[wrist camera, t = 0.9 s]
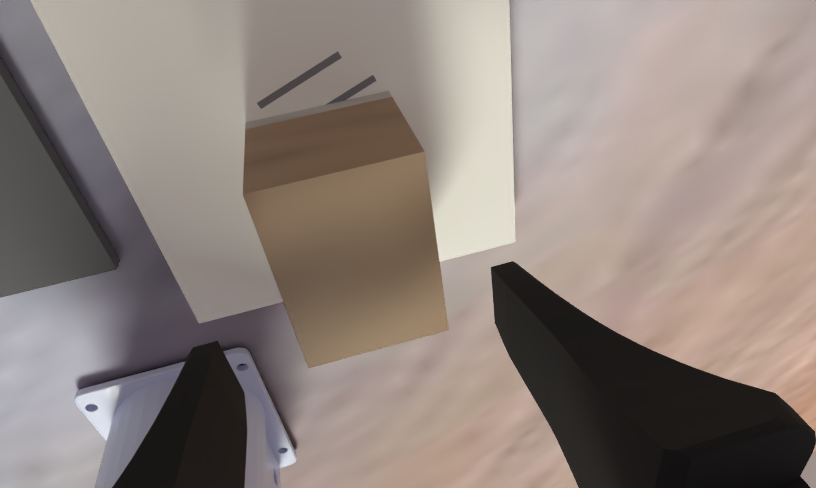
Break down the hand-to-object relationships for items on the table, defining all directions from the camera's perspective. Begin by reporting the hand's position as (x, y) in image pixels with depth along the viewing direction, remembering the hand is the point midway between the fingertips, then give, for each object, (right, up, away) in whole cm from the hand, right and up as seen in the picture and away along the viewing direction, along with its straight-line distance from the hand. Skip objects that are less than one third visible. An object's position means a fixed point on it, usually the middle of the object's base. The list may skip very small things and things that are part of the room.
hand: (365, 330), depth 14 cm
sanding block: (-2, +4, +7) cm, 8 cm away
